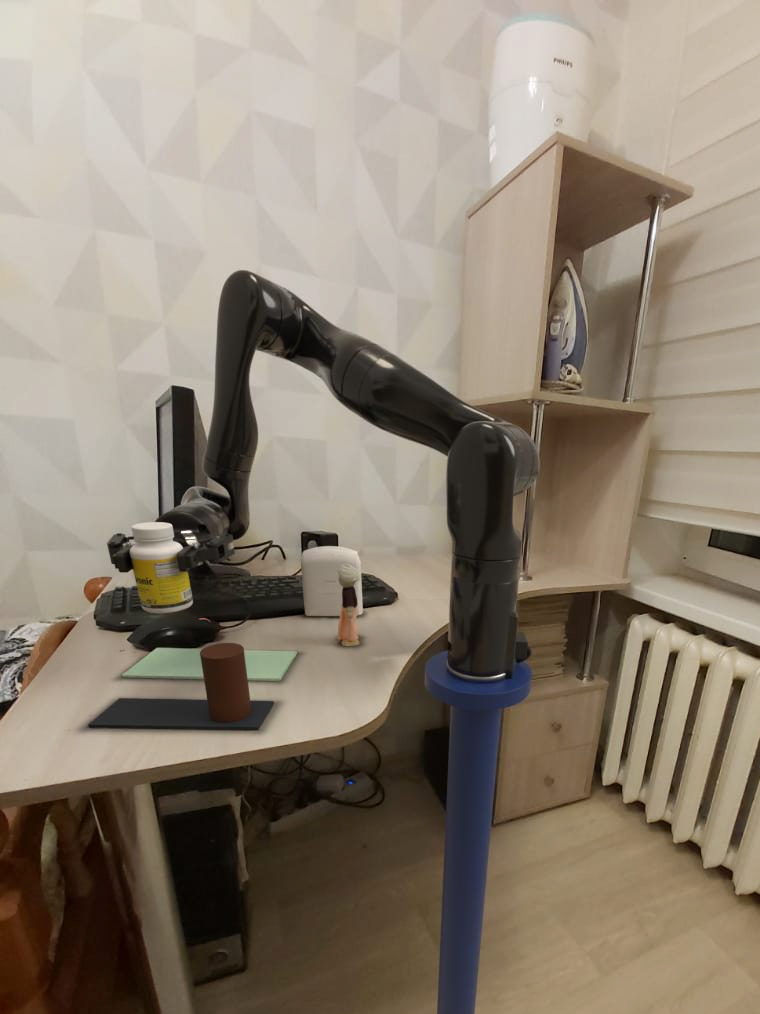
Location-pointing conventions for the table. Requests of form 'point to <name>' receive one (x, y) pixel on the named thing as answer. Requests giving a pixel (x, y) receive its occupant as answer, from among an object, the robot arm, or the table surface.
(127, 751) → the table surface
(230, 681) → the brown cylinder
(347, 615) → the grandmother figurine
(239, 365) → the robot arm
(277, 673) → the pale mat
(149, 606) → the supplement bottle
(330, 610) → the photo printer
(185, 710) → the dark mat
